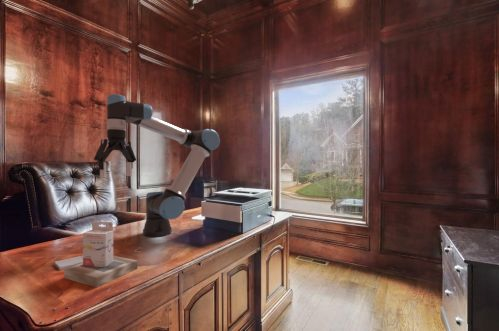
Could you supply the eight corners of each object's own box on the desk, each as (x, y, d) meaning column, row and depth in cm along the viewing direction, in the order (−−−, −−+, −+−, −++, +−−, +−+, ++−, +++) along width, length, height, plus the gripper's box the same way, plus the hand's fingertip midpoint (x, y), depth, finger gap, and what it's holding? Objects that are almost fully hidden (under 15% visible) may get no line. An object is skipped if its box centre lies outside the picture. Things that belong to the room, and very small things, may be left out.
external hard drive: (54, 265, 101) (90, 257, 111) (59, 271, 96) (97, 261, 105) (53, 261, 101) (90, 253, 111) (59, 267, 96) (97, 257, 105)
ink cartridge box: (81, 266, 91) (81, 224, 91) (91, 261, 96) (91, 221, 96) (105, 267, 91) (105, 224, 91) (114, 262, 96) (114, 221, 95)
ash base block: (106, 262, 104) (106, 254, 104) (137, 268, 98) (137, 260, 98) (64, 278, 89) (64, 269, 89) (97, 287, 83) (97, 277, 83)
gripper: (96, 125, 106) (96, 178, 106) (143, 132, 129) (143, 175, 129) (84, 126, 109) (84, 177, 109) (132, 132, 132) (132, 175, 132)
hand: (116, 176), depth 119 cm, fingers open, 13 cm apart
